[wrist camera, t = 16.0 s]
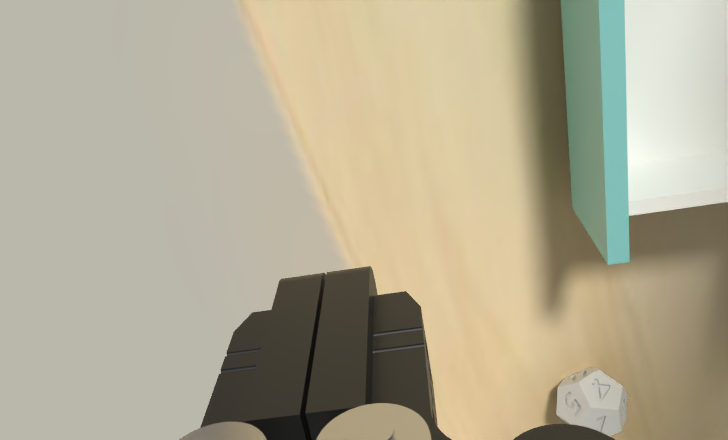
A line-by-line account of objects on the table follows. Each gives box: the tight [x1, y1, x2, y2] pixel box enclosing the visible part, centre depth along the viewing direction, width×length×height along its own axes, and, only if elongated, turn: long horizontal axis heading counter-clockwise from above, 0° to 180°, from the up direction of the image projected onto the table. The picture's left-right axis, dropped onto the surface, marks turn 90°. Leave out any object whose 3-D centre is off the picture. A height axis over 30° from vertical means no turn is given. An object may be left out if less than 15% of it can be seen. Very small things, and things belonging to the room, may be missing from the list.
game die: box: [556, 367, 627, 436], centre depth 35 cm, size 4×4×3 cm
